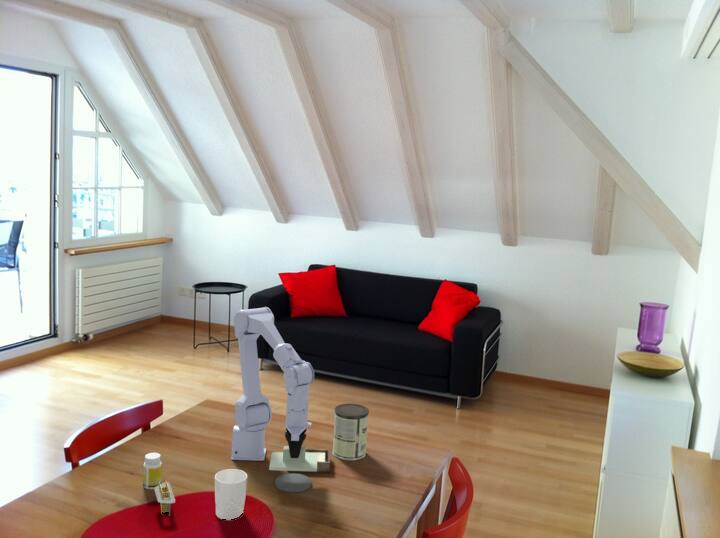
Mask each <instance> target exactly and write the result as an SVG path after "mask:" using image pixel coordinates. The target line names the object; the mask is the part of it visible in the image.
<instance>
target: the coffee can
mask: <svg viewBox="0 0 720 538" xmlns="http://www.w3.org/2000/svg"><path fill="white" fill-rule="evenodd" d="M369 413H370V410H369V408H368V407H366V406H365V405H362V404H357V403H342V404H339V405H336V406H335V408H334V420H333V423H334V424H333V442H332V444H333V445H332V446H333V447H332V455H333V456H334V457H335V458H337V459H340V460H342V461H358V460H362V459H364V458H365V457H366V455H367V454H366V453H367V452H366V451H367V437H368V422H369Z"/></svg>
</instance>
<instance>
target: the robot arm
mask: <svg viewBox="0 0 720 538" xmlns="http://www.w3.org/2000/svg"><path fill="white" fill-rule="evenodd" d="M233 324H234V325H233V326H234V337H236V339H237V340H238V351H239V363H240V371H241V373H240V374H241V385H242V395H241V396H240V397H239V398H238V399H237V400H236V401H235V403H234V404H235V405H234V406H235V407H234V408H235V409H234V415H233V417H234V422H235V425H234V426H233V429H232V438H231V441H232V442H231V457H230V458H231V460H234V461H235V460H236V461H255V462H257V461H258V462H259V461H260V462H264V461H265V458H266V452H267V448H266V447H265V441H266V439H265V436H266V434H265V433H266V427H268V424H269V423H270V422H271V420H272V417H273V411H272V407H271V404H270V399H269V397H267V396H266V395H264V394H263V393H262V390H261V377H260V369H259V368H260V367H259V356H258V347H257V346H258V343H257V340H258V339H259V337H260V335H261V336H262V337H263V339H264V340H265V341H266V342H267V343H268V345H269V346H270V347H271V348H272V349H273V353H272V355H273V356H272V357H273V359H274V360H275V362H277V364H278V366H279V367H280V368H281V371H283V381H284V384H285V391H286V392H287V395H286V414H285V415H286V416H285V422H284V427H285V432H284V437H285V440H286V441H287V446H289V451H290V457H291V458H298V457H299V454H300V450H301V446H302V447H303V443H304V442H305V440H306V438H307V433H306V432H307V428H312V422H309V421H308V414H309V412H308V411H309V397H310V393H309V392H310V384H312V383H313V382H314V380H315V370H314V368H313V366H312V364H311V363H310V362H308V361H305V360H303V359H302V358H301V357H300V355H299V354H298V352H296V350H295V349H294V347H293V346H292V344H291V343H285V341H284V339H283V337H282V336H281V334H280V332H279V330H278V329H277V327H276V325H275V316H274V314H273V312H272V310H271V309H270V308H269V307H267V306H263V307H258V308H250V309H249V308H248V309H239V310H237V311H236V313H235V315H234V316H233Z"/></svg>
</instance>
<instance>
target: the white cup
mask: <svg viewBox="0 0 720 538" xmlns="http://www.w3.org/2000/svg"><path fill="white" fill-rule="evenodd" d="M247 484H248V473H246V472H245V471H243V470H241V469H237V468H236V469H235V468H227V469H222V470H220V471H217V472H216V473H215V475H214V500H215V501H214V503H215V515H216V517H217V518H218V519H220V520H222V519H226V520H225V521H232V520H231V519H234V518H237V517H239V516H240V515H241V514H242V513H243V514H244V511H243V510H244V509H245V504H246V503H245V502H246V494H247V486H248V485H247Z"/></svg>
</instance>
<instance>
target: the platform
mask: <svg viewBox="0 0 720 538" xmlns="http://www.w3.org/2000/svg"><path fill="white" fill-rule="evenodd" d="M154 493H155V497H156V501H157V502H158V503H160V513H161V514H162V512H163V513H165V512H169V514H168V516H170V517H171V504H175V503H176V498H175V495H174V492H173V489H172V486H171V483H170V482H169V481H165V482H162V484H160V482H159V485H158V486H156V487H155V489H154ZM162 515H163V514H162Z"/></svg>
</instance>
